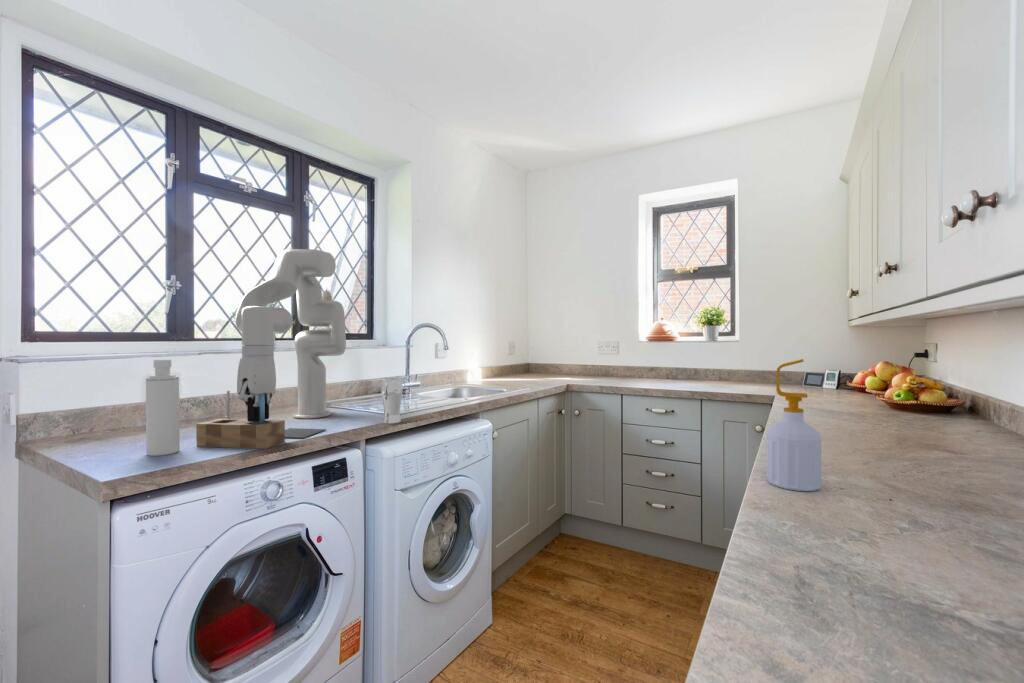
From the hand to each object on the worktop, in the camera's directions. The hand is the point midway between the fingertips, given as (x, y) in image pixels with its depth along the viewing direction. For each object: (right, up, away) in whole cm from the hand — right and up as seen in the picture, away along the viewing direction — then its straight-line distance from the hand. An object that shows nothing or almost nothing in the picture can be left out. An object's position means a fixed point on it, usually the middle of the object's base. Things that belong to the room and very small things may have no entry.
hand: (258, 419), depth 124 cm
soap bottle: (+124, -7, -34) cm, 129 cm away
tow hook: (-18, -7, +19) cm, 27 cm away
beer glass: (+28, -7, +33) cm, 43 cm away
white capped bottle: (-19, -7, -9) cm, 22 cm away
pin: (0, -2, 0) cm, 2 cm away
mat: (+4, -7, +14) cm, 16 cm away
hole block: (-5, -7, +1) cm, 8 cm away
